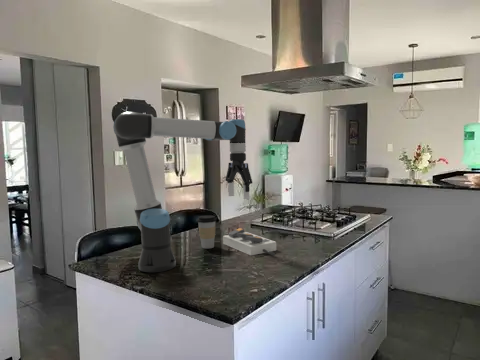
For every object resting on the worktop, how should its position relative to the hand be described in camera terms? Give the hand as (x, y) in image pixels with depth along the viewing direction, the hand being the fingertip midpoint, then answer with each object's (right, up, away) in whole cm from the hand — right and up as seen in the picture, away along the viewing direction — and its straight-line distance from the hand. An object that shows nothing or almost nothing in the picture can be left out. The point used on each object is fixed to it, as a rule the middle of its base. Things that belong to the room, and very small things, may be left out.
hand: (238, 197), depth 185 cm
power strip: (+7, -24, 0) cm, 25 cm away
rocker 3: (+7, -19, -5) cm, 21 cm away
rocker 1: (-1, -18, +9) cm, 20 cm away
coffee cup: (-15, -25, +5) cm, 29 cm away
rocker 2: (+3, -18, +2) cm, 19 cm away
